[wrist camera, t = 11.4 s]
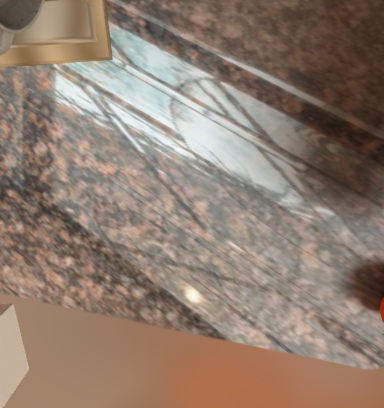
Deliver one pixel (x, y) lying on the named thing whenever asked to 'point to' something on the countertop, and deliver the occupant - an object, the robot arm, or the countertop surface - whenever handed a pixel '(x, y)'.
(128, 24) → the countertop surface
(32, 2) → the speckled stoneware cup
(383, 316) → the clementine
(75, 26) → the wooden block with ridges
